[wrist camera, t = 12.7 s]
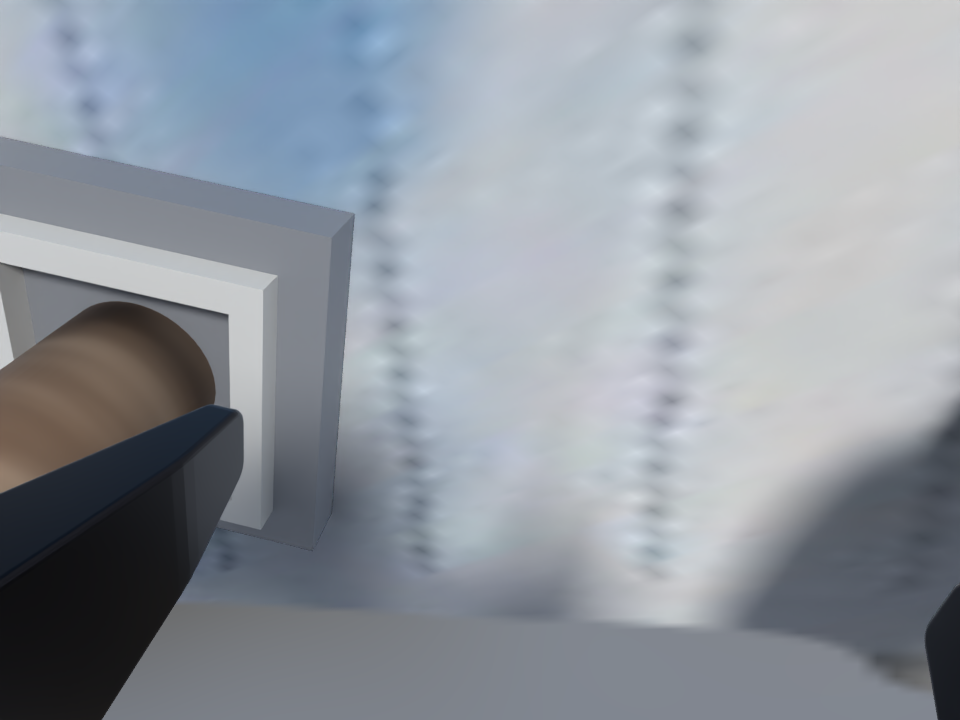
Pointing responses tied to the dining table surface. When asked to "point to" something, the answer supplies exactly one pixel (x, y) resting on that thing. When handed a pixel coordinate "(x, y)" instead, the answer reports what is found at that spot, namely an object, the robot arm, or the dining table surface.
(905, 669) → the dining table surface
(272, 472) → the base
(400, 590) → the dining table surface
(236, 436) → the robot arm
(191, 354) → the post
